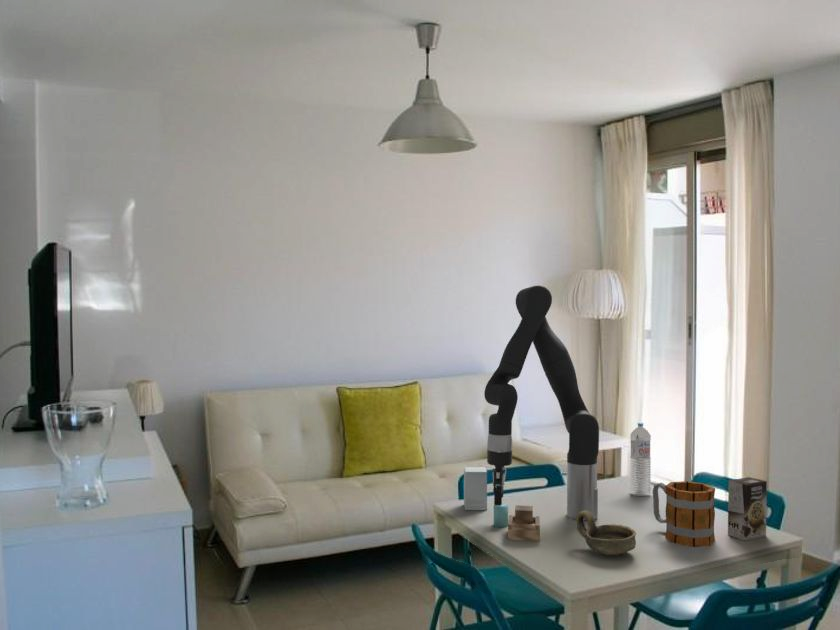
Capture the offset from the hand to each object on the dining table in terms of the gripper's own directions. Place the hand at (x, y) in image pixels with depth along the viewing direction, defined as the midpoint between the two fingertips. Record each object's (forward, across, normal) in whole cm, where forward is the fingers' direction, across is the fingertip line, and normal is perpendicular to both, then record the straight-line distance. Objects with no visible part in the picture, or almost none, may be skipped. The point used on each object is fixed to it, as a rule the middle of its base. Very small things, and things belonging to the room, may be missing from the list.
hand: (498, 501), depth 229 cm
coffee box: (+6, 0, +72) cm, 72 cm away
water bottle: (+6, -42, +47) cm, 63 cm away
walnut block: (+4, +9, +8) cm, 13 cm away
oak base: (+7, +9, +8) cm, 14 cm away
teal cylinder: (+7, 0, +1) cm, 7 cm away
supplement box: (+8, -17, -9) cm, 21 cm away
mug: (+6, +3, +53) cm, 53 cm away
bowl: (+7, +20, +30) cm, 37 cm away
